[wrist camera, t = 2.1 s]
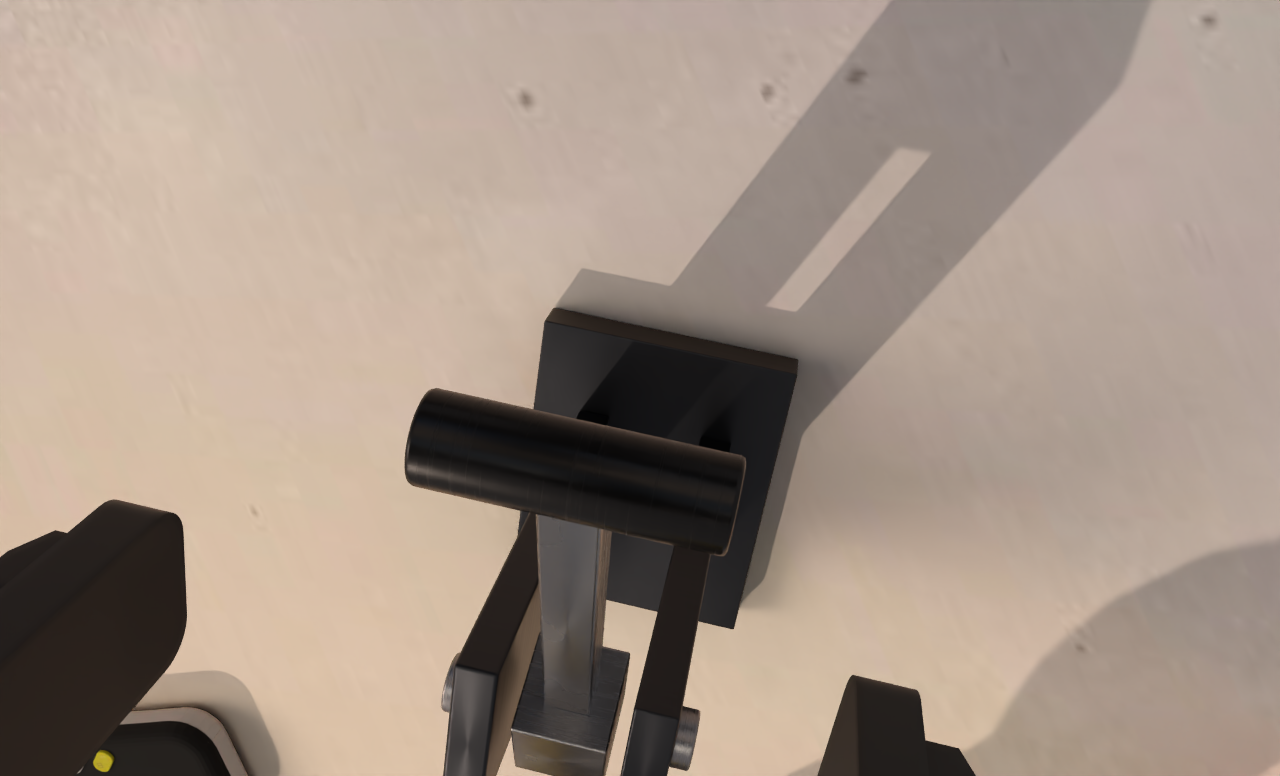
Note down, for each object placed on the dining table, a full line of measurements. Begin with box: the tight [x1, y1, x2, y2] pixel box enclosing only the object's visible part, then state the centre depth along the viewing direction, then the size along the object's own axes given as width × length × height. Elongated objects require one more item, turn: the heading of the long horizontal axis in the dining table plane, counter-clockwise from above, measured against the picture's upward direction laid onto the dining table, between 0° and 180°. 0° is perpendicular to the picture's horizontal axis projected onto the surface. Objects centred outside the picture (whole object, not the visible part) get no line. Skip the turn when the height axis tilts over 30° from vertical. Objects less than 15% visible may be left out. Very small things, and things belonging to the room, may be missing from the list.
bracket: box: [442, 308, 798, 776], centre depth 30 cm, size 10×8×14 cm
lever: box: [405, 388, 746, 776], centre depth 21 cm, size 13×5×2 cm, turn 171°
